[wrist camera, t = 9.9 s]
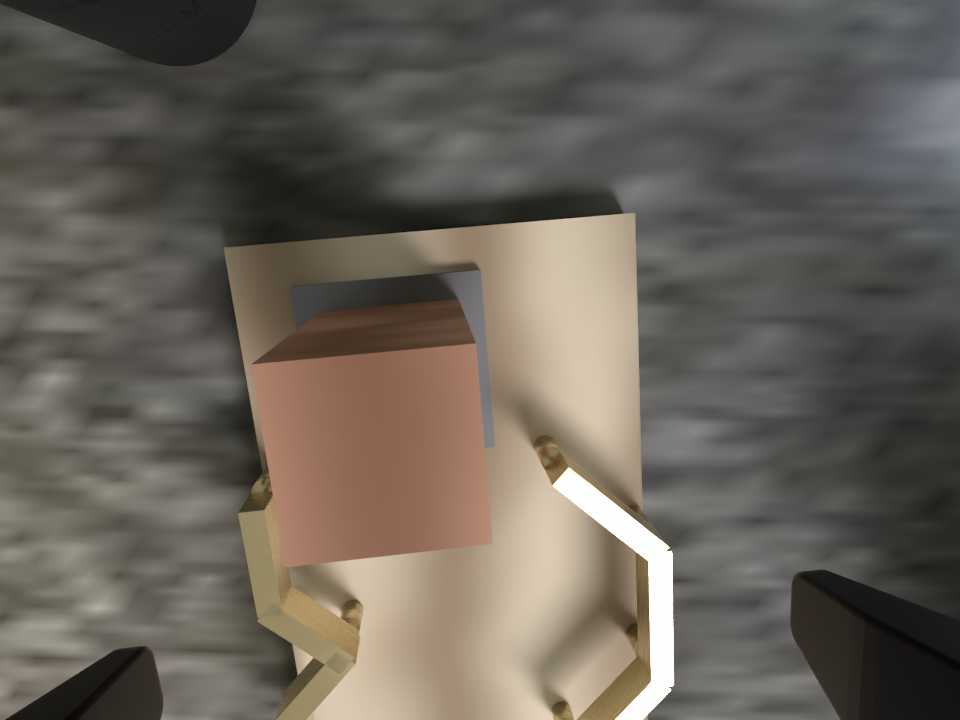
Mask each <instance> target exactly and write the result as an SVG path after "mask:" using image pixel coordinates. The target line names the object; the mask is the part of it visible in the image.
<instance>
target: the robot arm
mask: <svg viewBox="0 0 960 720" xmlns="http://www.w3.org/2000/svg"><path fill="white" fill-rule="evenodd" d="M790 625H791V631H792V634H793V637H794V640H795V642H796V644H797V646H798V647H799V649H800V651H801V652H802V654H803V656H804V658H805V659H806V661H807V663H808V665H809V666H810V668H811V670H812V672H813V673H814V675H815V677H816V678H817V680H818V682H819V684H820V685H821V687H822V689H823V691H824V692H825V694H826V696H827V697H828V699H829V701H830V703H831V704H832V706H833V708H834V710H835V711H836V713H837V715H838V716H839V718H840V720H960V621H959V620H956V619H954V618H951V617H948V616H946V615H943V614H940V613H938V612H935V611H933V610H930V609H927V608H925V607H922V606H919V605H917V604H914V603H911V602H909V601H906V600H904V599H901V598H898V597H896V596H893V595H890V594H888V593H885V592H882V591H880V590H877V589H874V588H872V587H869V586H867V585H864V584H861V583H859V582H856V581H853V580H851V579H848V578H845V577H843V576H840V575H838V574H835V573H832V572H830V571H827V570H813V571H804V572H798V573H797V574H795V575H794V577H793V579H792V586H791V616H790ZM162 711H163V694H162V690H161V685H160V681H159V676H158V672H157V668H156V663H155V659H154V655H153V652H152V651H151V649H149V648H148V647H146V646H140V647H131V648H122V649H117V650H115V651H113V652H111V653H109V654H108V655H106V656H105V657H103V658H102V659H100V660H98V661H97V662H95V663H94V664H92V665H91V666H89V667H87V668H86V669H84V670H83V671H81V672H79V673H78V674H76V675H75V676H73V677H72V678H70V679H68V680H67V681H65V682H64V683H62V684H61V685H59V686H57V687H56V688H54V689H53V690H51V691H50V692H48V693H46V694H45V695H43V696H42V697H40V698H39V699H37V700H35V701H34V702H32V703H31V704H29V705H28V706H26V707H24V708H23V709H21V710H20V711H18V712H16V713H15V714H13V715H12V716H10V717H9V718H7V719H5V720H160V719H161V716H162Z"/></svg>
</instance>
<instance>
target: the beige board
mask: <svg viewBox="0 0 960 720" xmlns="http://www.w3.org/2000/svg"><path fill="white" fill-rule="evenodd" d="M224 253H225V259H226V265H227V271H228V276H229V282H230V288H231V294H232V299H233V305H234V311H235V317H236V322H237V328H238V334H239V340H240V345H241V351H242V357H243V363H244V368H245V374H246V380H247V386H248V391H249V397H250V403H251V409H252V414H253V420H254V426H255V432H256V437H257V443H258V449H259V455H260V460H261V466H262V472H263V471H264V469H265V468H266V467H267V466H268V463H267V458H266V452H265V446H264V440H263V434H262V428H261V422H260V416H259V410H258V404H257V398H256V392H255V386H254V380H253V374H252V368H251V364H252V363H253V362H255V361H256V360H257V359H259V358H260V357H261V356H263V355H264V354H265V353H267V352H268V351H269V350H271V349H272V348H273V347H275V346H276V345H277V344H279V343H280V342H281V341H283V340H284V339H285V338H287V337H288V336H289V335H291V334H292V333H293V332H295V331H296V330H297V329H299V328H300V327H301V326H303V325H304V324H305V323H307V322H308V321H309V320H311V319H312V318H313V317H314V316H316V315H317V314H318V313H320V312H321V311H330V310H342V309H353V308H364V307H375V306H387V305H398V304H409V303H420V302H432V301H443V300H454V299H459V301H460V304H461V306H462V309H463V311H464V314H465V316H466V319H467V322H468V324H469V327H470V329H471V332H472V334H473V337H474V339H475V342H476V348H477V360H478V372H479V384H480V397H481V409H482V421H483V433H484V445H485V457H486V470H487V482H488V494H489V506H490V518H491V530H492V542H493V544H488V545H479V546H470V547H461V548H452V549H444V550H435V551H426V552H417V553H409V554H400V555H391V556H382V557H373V558H365V559H356V560H347V561H338V562H330V563H321V564H312V565H303V566H295V567H288V568H289V574H290V580H291V586H293V587H295V588H296V589H298V590H299V591H301V592H302V593H304V594H305V595H307V596H308V597H310V598H311V599H313V600H314V601H316V602H317V603H319V604H320V605H322V606H323V607H325V608H326V609H328V610H329V611H331V612H332V613H334V614H335V615H337V616H338V617H340V615H341V611H342V607H343V605H344V603H345V602H347V601H349V600H357V601H359V602H360V603H361V604H362V605H363V608H364V610H363V616H362V622H361V627H360V633H359V636H360V642H359V648H358V654H357V660H356V664H355V665H354V667H353V668H352V669H351V670H350V671H349V672H348V673H347V674H346V676H345V677H344V678H343V679H342V680H341V681H340V682H339V683H338V685H337V686H336V687H335V688H334V689H333V690H332V691H331V692H330V694H329V695H328V696H327V697H326V698H325V699H324V700H323V701H322V703H321V704H320V705H319V706H318V707H317V708H316V709H315V710H314V712H313V715H314V720H554V719H553V715H552V707H553V705H554V704H556V703H557V702H560V701H564V702H567V703H568V704H569V705H570V706H571V710H572V713H573V717H574V720H577V719H578V718H579V717H580V715H581V714H582V713H583V712H584V711H585V710H586V709H587V708H588V707H589V706H590V705H591V704H592V703H593V702H594V701H595V700H596V699H597V698H598V697H599V696H600V695H601V694H602V693H603V692H604V691H605V689H606V688H607V687H608V686H609V685H610V684H611V683H612V682H613V681H614V680H615V679H616V678H617V677H618V676H619V675H620V674H621V673H622V672H623V671H624V670H625V669H626V668H627V667H628V666H629V665H630V663H631V662H632V661H633V660H634V659H635V658H636V655H635V653H634V651H633V649H632V646H631V644H630V642H629V640H628V638H627V636H626V630H627V628H628V627H629V626H630V625H631V624H634V623H637V592H636V556H635V550H634V549H633V548H631V547H630V546H629V545H627V544H626V543H625V542H624V541H622V540H621V539H620V538H618V537H617V536H616V535H615V534H613V533H612V532H611V531H610V530H608V529H607V528H606V527H604V526H603V525H602V524H601V523H599V522H598V521H597V520H595V519H594V518H593V517H592V516H590V515H589V514H588V513H587V512H585V511H584V510H583V509H581V508H580V507H579V506H578V505H576V504H575V503H574V502H572V501H571V500H570V499H569V498H567V497H566V496H565V495H564V494H562V493H561V492H560V491H558V490H557V489H556V488H555V487H553V486H552V484H551V482H550V480H549V478H548V475H547V473H546V471H545V469H544V468H543V466H542V464H541V462H540V460H539V458H538V456H537V454H536V451H535V449H534V443H535V441H536V440H537V438H539V437H540V436H543V435H548V436H550V437H552V438H553V439H554V440H555V442H556V444H557V446H558V447H559V449H560V451H561V452H562V454H563V455H565V456H566V457H567V458H568V459H570V460H571V461H572V462H573V463H575V464H576V465H577V466H578V467H580V468H581V469H582V470H583V471H585V472H586V473H587V474H588V475H590V476H591V477H592V478H593V479H595V480H596V481H597V482H598V483H600V484H601V485H602V486H603V487H605V488H606V489H607V490H608V491H610V492H611V493H612V494H613V495H615V496H616V497H617V498H618V499H620V500H621V501H622V502H623V503H625V504H626V505H627V506H628V507H629V506H637V507H639V508H640V509H641V510H642V472H641V431H640V391H639V350H638V310H637V269H636V229H635V213H627V214H615V215H603V216H591V217H579V218H568V219H556V220H544V221H532V222H520V223H508V224H497V225H485V226H473V227H461V228H449V229H438V230H426V231H414V232H402V233H390V234H379V235H367V236H355V237H343V238H331V239H319V240H308V241H296V242H284V243H272V244H260V245H249V246H237V247H226V248H224ZM292 645H293V644H292ZM293 650H294V656H295V662H296V668H297V673H298V675H299V674H300V673H301V671H302V670H303V669H304V668H305V667H306V666H307V665H308V663H309V662H310V661H311V660H312V659H313V658H314V657H312V656H310V655H309V654H307V653H306V652H304V651H303V650H301V649H300V648H298V647H296V646H295V645H293ZM642 720H648V714H647V715H646V716H645V717H644V718H643V719H642Z"/></svg>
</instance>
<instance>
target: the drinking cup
mask: <svg viewBox="0 0 960 720" xmlns="http://www.w3.org/2000/svg"><path fill="white" fill-rule="evenodd" d="M0 4H3V5H5V6H8V7H10V8H13V9H16V10H18V11H21V12H23V13H26V14H29V15H31V16H34V17H36V18H39V19H41V20H44V21H47V22H49V23H52V24H54V25H57V26H60V27H62V28H65V29H67V30H70V31H72V32H75V33H78V34H80V35H83V36H85V37H88V38H91V39H93V40H96V41H98V42H101V43H103V44H106V45H109V46H111V47H114V48H116V49H119V50H122V51H124V52H127V53H129V54H132V55H134V56H137V57H140V58H142V59H145V60H148V61H151V62H154V63H158V64H162V65H169V66H188V65H194V64H199V63H202V62H205V61H208V60H210V59H213V58H215V57H216V56H218V55H220V54H221V53H223V52H224V51H226V50H227V49H228V48H229V47H231V46H232V45H233V44H234V43H235V42H236V41H237V40H238V38H239V37H240V36H241V35H242V33H243V32H244V30H245V28H246V27H247V25H248V23H249V21H250V19H251V16H252V14H253V11H254V8H255V4H256V0H0Z"/></svg>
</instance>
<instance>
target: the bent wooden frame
mask: <svg viewBox="0 0 960 720" xmlns="http://www.w3.org/2000/svg"><path fill="white" fill-rule="evenodd" d="M534 449H535V451H536V454H537V456H538V458H539V460H540V462H541V464H542V466H543V468H544V469H545V471H546V473H547V475H548V478H549V480H550V482H551V484H552V486H553V487H555V488H556V489H557V490H558V491H560V492H561V493H562V494H564V495H565V496H566V497H567V498H569V499H570V500H571V501H572V502H574V503H575V504H576V505H578V506H579V507H580V508H581V509H583V510H584V511H585V512H587V513H588V514H589V515H590V516H592V517H593V518H594V519H595V520H597V521H598V522H599V523H601V524H602V525H603V526H604V527H606V528H607V529H608V530H610V531H611V532H612V533H613V534H615V535H616V536H617V537H618V538H620V539H621V540H622V541H624V542H625V543H626V544H627V545H629V546H630V547H631V548H633V549H634V550H635V556H636V592H637V623H634V624H631V625H630V626H629V627H628V628H627V630H626V636H627V638H628V640H629V642H630V644H631V646H632V649H633V651H634V653H635V655H636V658H635V659H634V660H633V661H632V662H631V663H630V665H629V666H628V667H627V668H626V669H625V670H624V671H623V672H622V673H621V674H620V675H619V676H618V677H617V678H616V679H615V680H614V681H613V682H612V683H611V684H610V685H609V686H608V687H607V688H606V689H605V691H604V692H603V693H602V694H601V695H600V696H599V697H598V698H597V699H596V700H595V701H594V702H593V703H592V704H591V705H590V706H589V707H588V708H587V709H586V710H585V711H584V712H583V713H582V714H581V715H580V717H579V718H578V719H577V720H642V719H643V718H644V717H645V716H646V715H647V714H648V713H649V712H650V711H651V710H652V709H653V708H654V707H655V706H656V705H657V704H658V703H659V702H660V701H661V700H662V699H663V698H664V697H665V696H666V695H667V694H668V693H669V692H670V691H671V689H670V687H669V686H674V671H673V595H672V551H671V550H670V548H669V546H668V545H667V544H666V542H665V541H664V540H663V538H662V537H661V536H660V534H659V533H658V532H657V530H656V529H655V528H654V526H653V525H652V524H651V522H650V521H649V520H648V518H647V517H646V516H645V514H644V513H643V511H642V510H641V509H640V508H639V507H637V506H629V507H628V506H627V505H626V504H625V503H623V502H622V501H621V500H620V499H618V498H617V497H616V496H615V495H613V494H612V493H611V492H610V491H608V490H607V489H606V488H605V487H603V486H602V485H601V484H600V483H598V482H597V481H596V480H595V479H593V478H592V477H591V476H590V475H588V474H587V473H586V472H585V471H583V470H582V469H581V468H580V467H578V466H577V465H576V464H575V463H573V462H572V461H571V460H570V459H568V458H567V457H566V456H565V455H563V454H562V452H561V451H560V449H559V447H558V446H557V444H556V442H555V440H554V439H553V438H552V437H550V436H548V435H543V436H540V437H539V438H537V440H536V441H535V443H534ZM238 516H239V521H240V527H241V532H242V537H243V543H244V548H245V553H246V559H247V564H248V569H249V575H250V580H251V586H252V591H253V596H254V602H255V607H256V612H257V618H258V620H257V622H259V623H260V624H262V625H263V626H265V627H267V628H268V629H270V630H271V631H273V632H274V633H276V634H278V635H279V636H281V637H282V638H284V639H285V640H287V641H289V642H290V643H292V644H293V645H295V646H296V647H298V648H300V649H301V650H303V651H304V652H306V653H307V654H309V655H310V656H312V657H314V658H313V659H312V660H311V661H310V662H309V663H308V665H307V666H306V667H305V668H304V669H303V670H302V671H301V673H300V674H299V675H298V676H297V677H296V678H295V679H294V681H293V682H292V683H291V684H290V685H289V686H288V687H287V689H286V690H285V692H284V695H283V699H282V702H281V705H280V708H279V711H278V714H277V718H276V720H314V715H313V712H314V710H315V709H316V708H317V707H318V706H319V705H320V704H321V703H322V701H323V700H324V699H325V698H326V697H327V696H328V695H329V694H330V692H331V691H332V690H333V689H334V688H335V687H336V686H337V685H338V683H339V682H340V681H341V680H342V679H343V678H344V677H345V676H346V674H347V673H348V672H349V671H350V670H351V669H352V668H353V667H354V665H355V664H356V660H357V654H358V648H359V642H360V636H359V633H360V627H361V622H362V616H363V610H364V608H363V605H362V604H361V603H360V602H359V601H357V600H349V601H347V602H345V603H344V605H343V607H342V611H341V615H340V617H338V616H337V615H335V614H334V613H332V612H331V611H329V610H328V609H326V608H325V607H323V606H322V605H320V604H319V603H317V602H316V601H314V600H313V599H311V598H310V597H308V596H307V595H305V594H304V593H302V592H301V591H299V590H298V589H296V588H295V587H293V586H291V580H290V574H289V568H288V567H286V568H285V565H284V559H283V553H282V547H281V541H280V535H279V529H278V523H277V517H276V511H275V505H274V499H273V493H272V487H271V481H270V475H269V469H268V466H267V467H266V468H265V469H264V471H263V472H262V474H261V475H260V476H259V478H258V479H257V481H256V482H255V484H254V485H253V487H252V489H251V495H250V496H249V498H248V499H247V501H246V502H245V504H244V505H243V506H242V508H241V509H240V511H239V512H238ZM552 715H553V719H554V720H574V717H573V713H572V710H571V706H570V705H569V704H568V703H567V702H564V701H560V702H557V703H556V704H554V705H553V707H552Z"/></svg>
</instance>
